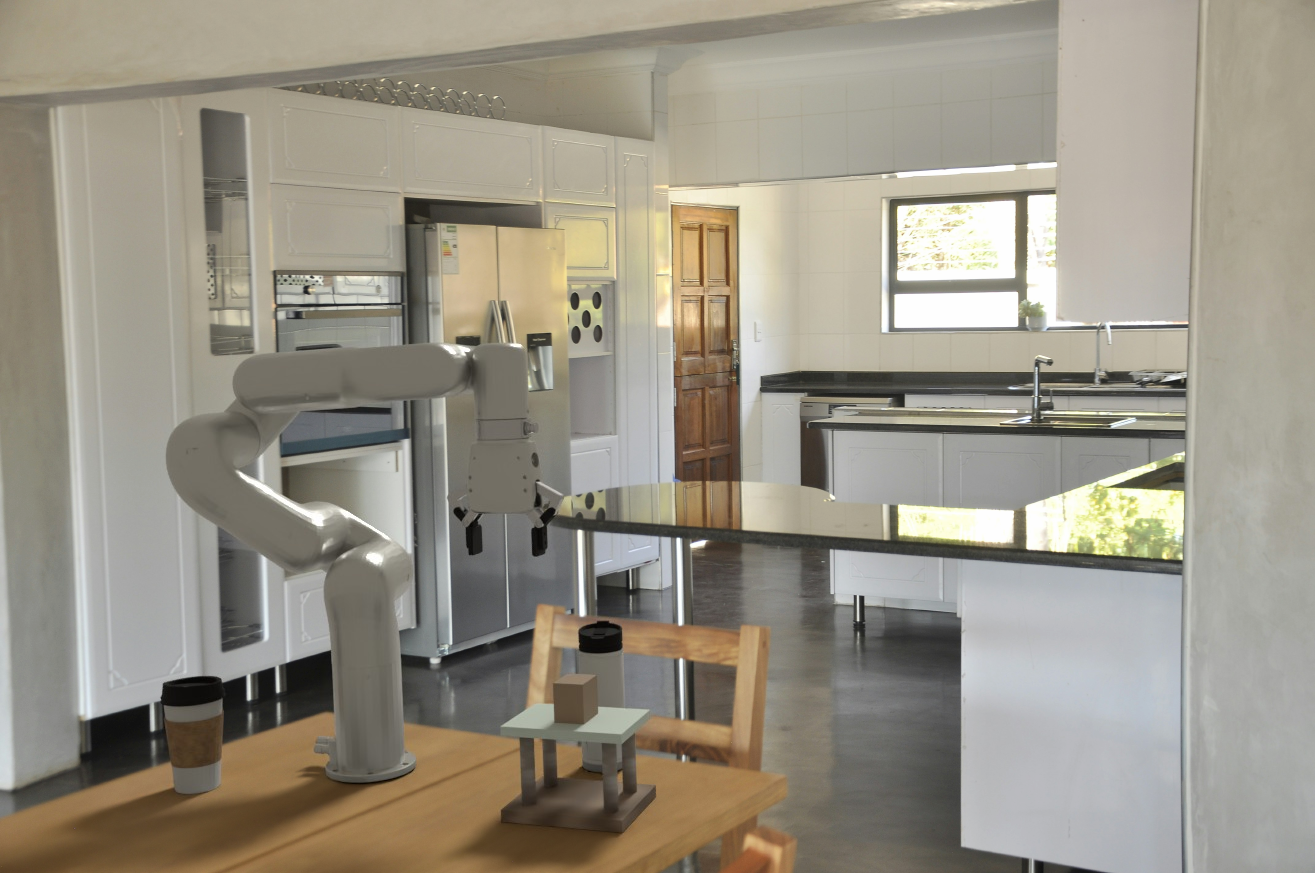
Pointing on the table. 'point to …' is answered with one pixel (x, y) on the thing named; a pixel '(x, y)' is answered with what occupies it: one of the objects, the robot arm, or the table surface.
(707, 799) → the table surface
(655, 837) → the table surface
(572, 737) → the shelf board
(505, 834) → the table surface
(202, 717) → the coffee cup
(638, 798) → the peg stand
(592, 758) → the travel mug
